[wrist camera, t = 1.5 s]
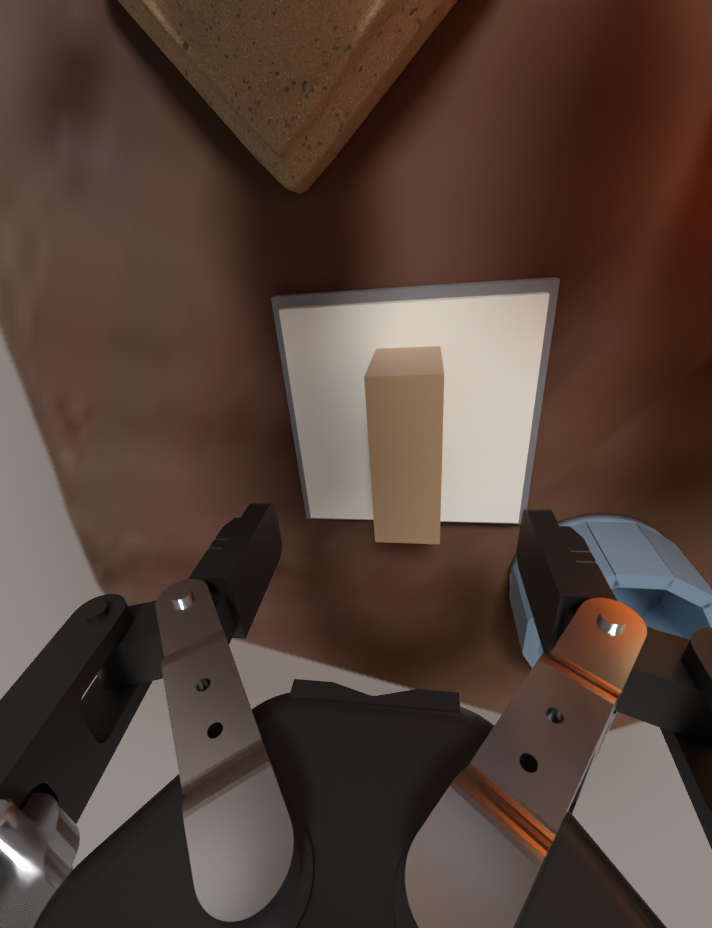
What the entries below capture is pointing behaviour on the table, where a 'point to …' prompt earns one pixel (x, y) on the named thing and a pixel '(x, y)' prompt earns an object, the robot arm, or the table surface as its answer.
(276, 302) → the mat
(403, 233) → the table surface
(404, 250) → the table surface
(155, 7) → the candle holder
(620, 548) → the bowl
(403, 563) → the table surface
